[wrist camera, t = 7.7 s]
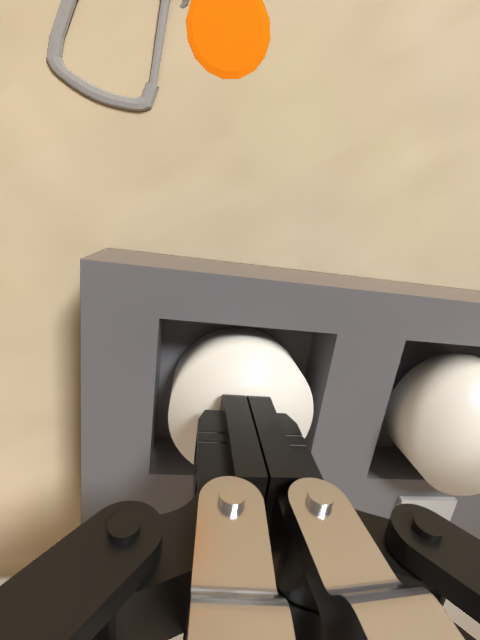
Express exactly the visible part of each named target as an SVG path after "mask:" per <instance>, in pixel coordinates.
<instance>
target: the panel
mask: <svg viewBox="0 0 480 640" xmlns="http://www.w3.org/2000/svg"><path fill="white" fill-rule="evenodd" d="M80 316H81V525H82V524H83V523H84V522H86V521H87V520H88V519H89V518H91V517H92V516H93V515H95V514H96V513H97V512H99V511H100V510H102V509H103V508H105V507H107V506H109V505H111V504H114V503H117V502H121V501H129V500H130V501H140V502H143V503H146V504H148V505H150V506H152V507H153V508H154V509H155V510H156V511H157V512H158V513H159V514H160V515H161V514H164V513H168V512H171V511H174V510H177V509H179V508H181V507H183V506H184V505H186V504H187V503H188V502H189V501H190V500H192V498H193V488H194V487H193V478H194V464H192V463H191V462H190V461H188V460H187V459H186V458H185V457H184V456H183V455H182V454H181V453H180V451H179V450H178V448H177V447H176V446H175V444H174V441H173V439H172V437H171V434H170V431H169V425H168V411H169V404H170V397H171V390H172V383H173V376H174V372H175V369H176V366H177V364H178V362H179V360H180V359H181V357H182V355H183V354H184V353H185V352H186V350H187V349H188V348H189V347H190V346H191V345H192V344H193V343H195V342H196V341H197V340H199V339H200V338H202V337H203V336H205V335H207V334H209V333H211V332H214V331H217V330H220V329H225V328H232V327H245V328H252V329H256V330H259V331H262V332H264V333H266V334H268V335H270V336H272V337H273V338H275V339H276V340H277V341H278V342H280V343H281V344H282V345H283V346H284V348H285V349H286V350H287V351H288V353H289V354H290V356H291V357H292V359H293V361H294V362H295V364H296V365H297V367H298V368H299V370H300V371H301V373H302V375H303V376H304V378H305V379H306V381H307V383H308V385H309V387H310V390H311V393H312V398H313V418H312V423H311V426H310V429H309V431H308V433H307V436H306V437H305V441H306V444H307V447H308V448H309V450H310V452H311V454H312V456H313V458H314V460H315V462H316V465H317V467H318V469H319V471H320V473H321V475H322V477H323V479H324V481H327V482H329V483H331V484H333V485H334V486H336V487H337V488H338V489H340V490H341V491H342V492H343V493H344V494H345V495H346V497H347V498H348V500H349V501H350V503H351V505H352V506H353V508H354V509H356V510H359V511H362V512H366V513H369V514H373V515H377V516H380V517H384V518H387V519H390V515H391V512H392V510H393V509H394V508H395V507H396V506H397V505H400V504H407V503H408V504H415V505H419V506H422V507H425V508H427V509H430V510H432V511H433V512H435V513H437V514H439V515H440V516H442V517H443V518H445V519H447V520H448V521H450V522H452V523H453V524H455V525H457V526H458V527H460V528H461V529H463V530H465V531H466V532H468V533H470V534H471V535H473V536H475V537H476V538H478V539H480V494H476V495H470V496H456V495H450V494H446V493H443V492H440V491H439V490H437V489H435V488H433V487H432V486H431V485H430V484H429V483H428V482H427V481H426V480H425V479H424V478H423V476H422V475H421V474H420V473H419V472H418V471H417V469H416V468H415V467H414V466H413V465H412V463H411V462H410V461H409V460H408V459H407V458H406V456H405V455H404V454H403V453H402V452H401V451H400V449H399V448H398V447H397V446H396V445H395V443H394V442H393V441H392V439H391V438H390V436H389V434H388V431H387V427H386V409H387V405H388V401H389V399H390V396H391V394H392V392H393V390H394V389H395V387H396V386H397V384H398V383H399V381H400V380H401V379H402V378H403V377H404V376H405V375H406V374H407V373H408V372H409V371H410V370H411V369H412V368H414V367H415V366H416V365H418V364H419V363H421V362H423V361H425V360H427V359H429V358H431V357H433V356H436V355H439V354H443V353H449V352H464V353H469V354H472V355H475V356H477V357H479V358H480V291H476V290H468V289H459V288H450V287H442V286H433V285H424V284H416V283H407V282H398V281H390V280H381V279H373V278H364V277H355V276H347V275H338V274H329V273H321V272H312V271H303V270H295V269H286V268H277V267H269V266H260V265H251V264H243V263H234V262H226V261H217V260H208V259H200V258H191V257H182V256H174V255H165V254H156V253H148V252H139V251H130V250H122V249H113V248H106V249H103V250H101V251H99V252H96V253H94V254H91V255H89V256H87V257H84V258H82V259H80Z"/></svg>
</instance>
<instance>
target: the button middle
mask: <svg viewBox="0 0 480 640" xmlns="http://www.w3.org/2000/svg"><path fill="white" fill-rule="evenodd" d="M386 427H387V431H388V434H389V436H390V438H391V439H392V441H393V442H394V443H395V445H396V446H397V447H398V448H399V449H400V451H401V452H402V453H403V454H404V455H405V456H406V458H407V459H408V460H409V461H410V462H411V463H412V465H413V466H414V467H415V468H416V469H417V471H418V472H419V473H420V474H421V475H422V476H423V478H424V479H425V480H426V481H427V482H428V483H429V484H430V485H431V486H432V487H433V488H435V489H437V490H439V491H440V492H443V493H446V494H450V495H456V496H470V495H476V494H480V358H479V357H477V356H475V355H472V354H469V353H464V352H449V353H443V354H439V355H436V356H433V357H431V358H429V359H427V360H425V361H423V362H421V363H419V364H418V365H416V366H415V367H414V368H412V369H411V370H410V371H409V372H408V373H407V374H406V375H405V376H404V377H403V378H402V379H401V380H400V381H399V383H398V384H397V386H396V387H395V389H394V390H393V392H392V394H391V396H390V399H389V401H388V405H387V409H386Z"/></svg>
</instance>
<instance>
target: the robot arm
mask: <svg viewBox="0 0 480 640" xmlns="http://www.w3.org/2000/svg"><path fill="white" fill-rule="evenodd" d="M193 487H194V488H193V498H192V500H190V501H189V502H188V503H187V504H186V505H184V506H183V507H181V508H179V509H177V510H174V511H171V512H168V513H164V514H161V515H160V514H159V513H158V512H157V511H156V510H155V509H154V508H153V507H152V506H150V505H148V504H146V503H143V502H140V501H130V500H129V501H121V502H117V503H114V504H111V505H109V506H107V507H105V508H103V509H102V510H100V511H99V512H97V513H96V514H95V515H93V516H92V517H91V518H89V519H88V520H87V521H86V522H84V523H83V524H82V525H80V526H79V527H78V528H76V529H75V530H74V531H72V532H71V533H70V534H68V535H67V536H66V537H64V538H63V539H62V540H60V541H59V542H58V543H56V544H55V545H54V546H52V547H51V548H50V549H49V550H47V551H46V552H45V553H43V554H42V555H41V556H39V557H38V558H37V559H35V560H34V561H33V562H31V563H30V564H29V565H27V566H26V567H25V568H23V569H22V570H21V571H19V572H18V573H17V574H16V575H14V576H13V577H12V578H10V579H9V580H8V581H6V582H5V583H4V584H2V585H1V586H0V640H168V639H171V638H173V637H175V636H177V635H179V634H182V633H184V636H183V640H476V639H475V638H473V637H472V636H471V635H469V634H468V633H467V632H466V631H464V630H463V629H462V628H461V627H459V626H458V625H457V624H455V623H454V622H453V621H452V620H451V618H450V617H449V616H448V614H447V613H446V611H445V610H444V608H443V605H444V602H445V600H446V599H448V600H449V601H450V602H451V603H453V604H454V605H455V606H457V607H458V608H460V609H461V610H463V612H465V613H466V614H468V615H469V616H470V617H472V618H473V619H474V620H476V621H477V622H478V623H480V539H478V538H476V537H475V536H473V535H471V534H470V533H468V532H466V531H465V530H463V529H461V528H460V527H458V526H457V525H455V524H453V523H452V522H450V521H448V520H447V519H445V518H443V517H442V516H440V515H439V514H437V513H435V512H433V511H432V510H430V509H427V508H425V507H422V506H419V505H415V504H408V503H407V504H400V505H397V506H396V507H395V508H394V509H393V510H392V512H391V515H390V519H387V518H384V517H380V516H377V515H373V514H369V513H366V512H362V511H359V510H356V509H354V508H353V506H352V505H351V503H350V501H349V500H348V498H347V497H346V495H345V494H344V493H343V492H342V491H341V490H340V489H338V488H337V487H336V486H334V485H333V484H331V483H329V482H327V481H324V479H323V477H322V475H321V473H320V471H319V469H318V467H317V465H316V462H315V460H314V458H313V456H312V454H311V452H310V450H309V448H308V447H307V444H306V441H305V439H304V437H302V433H301V431H300V429H299V427H298V425H297V423H296V422H295V421H294V420H293V419H292V418H290V417H289V416H288V415H287V414H286V413H276V410H275V408H274V405H273V403H272V400H271V398H270V397H266V396H248V395H247V396H245V395H228V394H222V397H221V404H220V410H204V412H203V413H202V415H201V416H200V417H199V419H198V426H197V435H196V445H195V454H194V478H193Z"/></svg>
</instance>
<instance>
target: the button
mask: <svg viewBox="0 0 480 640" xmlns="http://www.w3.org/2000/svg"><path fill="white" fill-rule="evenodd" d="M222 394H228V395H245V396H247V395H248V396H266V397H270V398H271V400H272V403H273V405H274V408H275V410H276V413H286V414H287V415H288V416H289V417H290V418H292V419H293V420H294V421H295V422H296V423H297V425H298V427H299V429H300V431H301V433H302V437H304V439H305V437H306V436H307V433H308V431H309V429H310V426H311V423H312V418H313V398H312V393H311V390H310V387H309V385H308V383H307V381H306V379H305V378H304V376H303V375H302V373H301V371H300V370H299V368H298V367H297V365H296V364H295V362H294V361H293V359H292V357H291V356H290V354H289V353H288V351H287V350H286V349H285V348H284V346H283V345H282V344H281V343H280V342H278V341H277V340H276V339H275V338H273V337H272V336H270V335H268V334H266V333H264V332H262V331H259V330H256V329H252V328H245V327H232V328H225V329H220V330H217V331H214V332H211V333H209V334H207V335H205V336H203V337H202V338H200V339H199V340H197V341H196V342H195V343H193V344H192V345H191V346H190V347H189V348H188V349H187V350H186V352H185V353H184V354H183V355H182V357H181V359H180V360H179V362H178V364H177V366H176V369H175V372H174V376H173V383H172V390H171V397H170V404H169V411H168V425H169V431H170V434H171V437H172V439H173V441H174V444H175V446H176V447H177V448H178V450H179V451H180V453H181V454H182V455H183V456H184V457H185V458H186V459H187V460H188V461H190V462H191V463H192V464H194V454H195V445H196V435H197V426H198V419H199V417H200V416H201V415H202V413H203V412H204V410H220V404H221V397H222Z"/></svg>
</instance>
